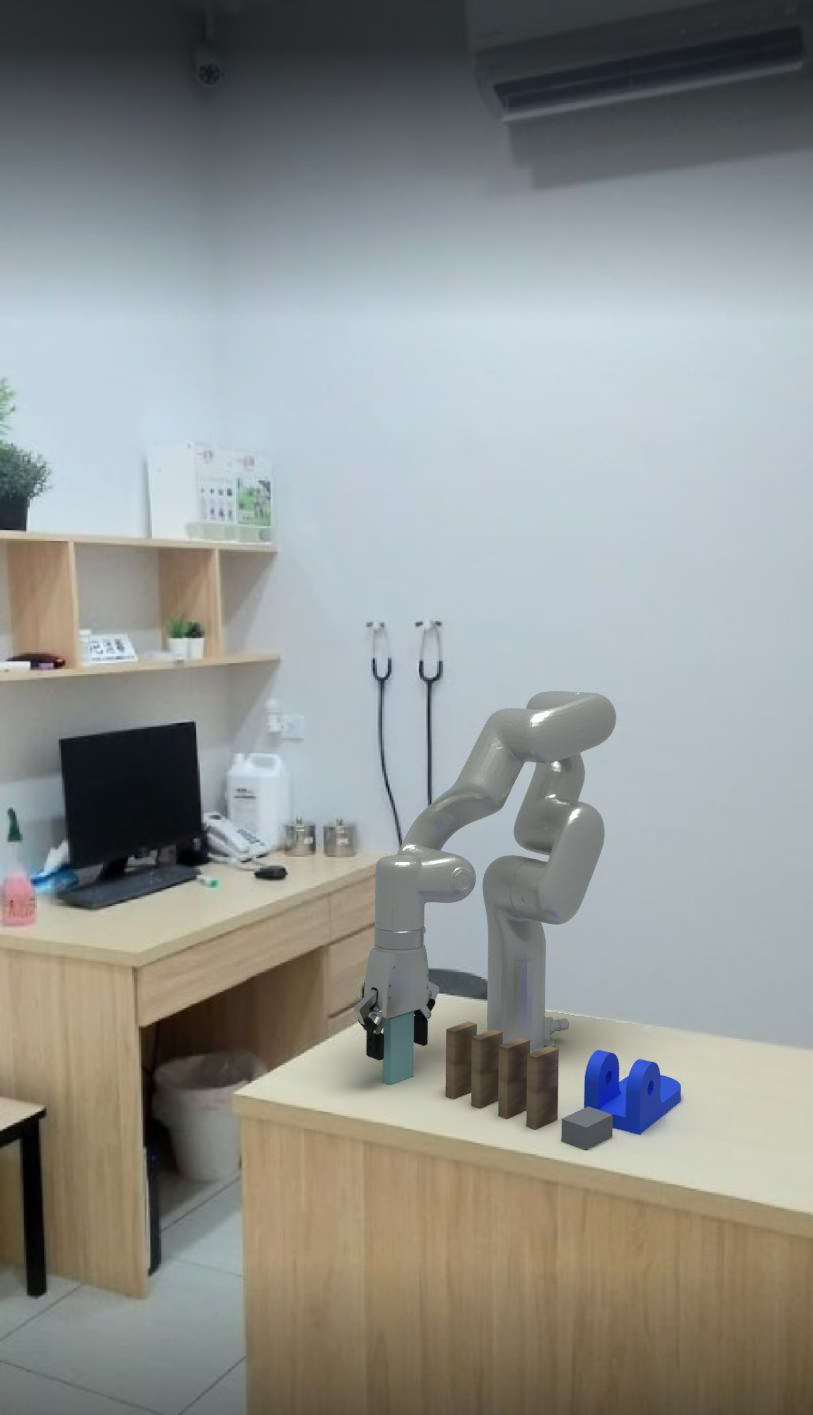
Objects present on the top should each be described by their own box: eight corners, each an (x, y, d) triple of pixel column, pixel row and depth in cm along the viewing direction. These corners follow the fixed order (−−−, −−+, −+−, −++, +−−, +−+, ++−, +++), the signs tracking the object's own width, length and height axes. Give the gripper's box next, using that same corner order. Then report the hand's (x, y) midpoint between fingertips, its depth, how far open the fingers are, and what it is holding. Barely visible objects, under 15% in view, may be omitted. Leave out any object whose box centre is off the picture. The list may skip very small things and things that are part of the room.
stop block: (587, 1127, 156) (588, 1106, 156) (612, 1136, 153) (612, 1114, 153) (561, 1140, 152) (561, 1118, 152) (586, 1149, 149) (586, 1127, 149)
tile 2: (468, 1087, 170) (468, 1021, 170) (476, 1090, 169) (476, 1023, 169) (445, 1096, 167) (446, 1028, 166) (453, 1099, 166) (454, 1031, 165)
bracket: (639, 1136, 154) (640, 1070, 154) (583, 1121, 159) (584, 1057, 158) (689, 1095, 169) (690, 1035, 168) (636, 1082, 173) (638, 1024, 173)
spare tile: (405, 1073, 176) (406, 1009, 175) (413, 1076, 175) (413, 1011, 174) (382, 1082, 172) (383, 1016, 172) (390, 1084, 171) (390, 1019, 171)
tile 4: (520, 1106, 164) (521, 1037, 163) (529, 1109, 162) (530, 1039, 162) (498, 1115, 160) (498, 1045, 160) (506, 1119, 159) (507, 1048, 158)
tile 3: (493, 1096, 167) (494, 1029, 167) (501, 1099, 166) (502, 1031, 165) (471, 1105, 163) (471, 1036, 163) (479, 1108, 162) (480, 1039, 162)
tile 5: (548, 1116, 160) (549, 1045, 160) (557, 1119, 159) (558, 1048, 158) (526, 1126, 156) (527, 1054, 156) (535, 1129, 155) (536, 1057, 155)
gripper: (420, 925, 181) (418, 1032, 182) (340, 942, 169) (338, 1057, 170) (455, 933, 176) (453, 1043, 177) (375, 952, 164) (373, 1070, 164)
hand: (397, 1050), depth 173 cm, fingers open, 9 cm apart
